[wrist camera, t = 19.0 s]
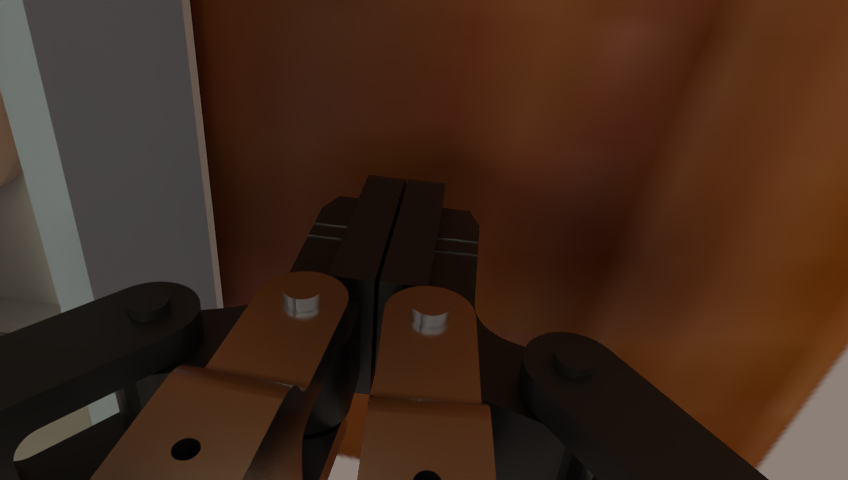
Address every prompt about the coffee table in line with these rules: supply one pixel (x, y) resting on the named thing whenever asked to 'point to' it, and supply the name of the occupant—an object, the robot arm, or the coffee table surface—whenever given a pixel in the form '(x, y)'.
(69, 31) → the tray
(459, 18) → the coffee table surface
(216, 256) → the beige shelf
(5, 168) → the tan dome knob
